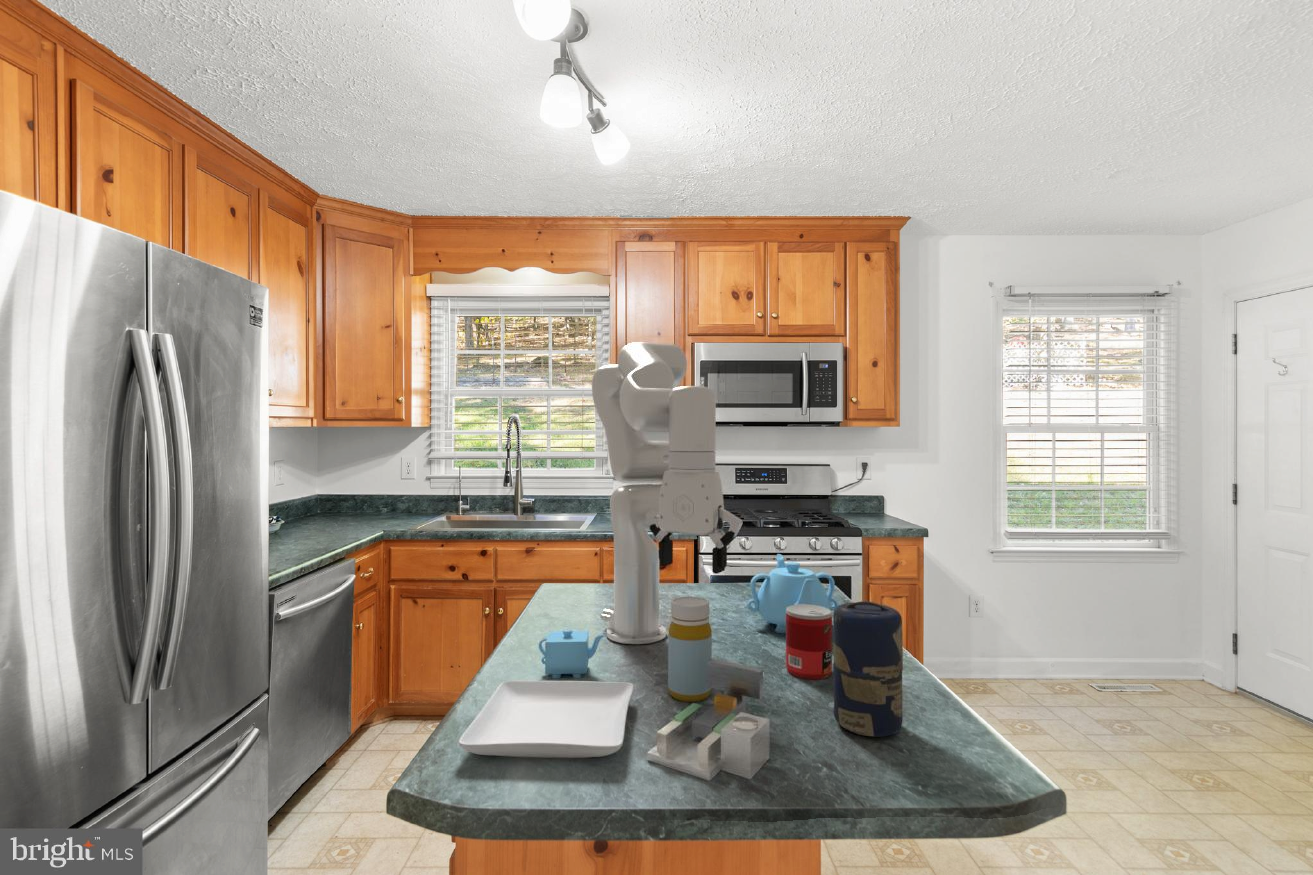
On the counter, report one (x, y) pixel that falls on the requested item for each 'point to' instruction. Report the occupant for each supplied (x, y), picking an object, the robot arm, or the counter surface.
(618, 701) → the salad plate
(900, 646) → the canister
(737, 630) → the counter surface
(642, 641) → the robot arm
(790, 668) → the canned food
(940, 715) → the counter surface
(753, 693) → the grey t-shaped piece
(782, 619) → the teapot
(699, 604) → the bottle
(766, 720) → the gauge body
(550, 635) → the teapot
